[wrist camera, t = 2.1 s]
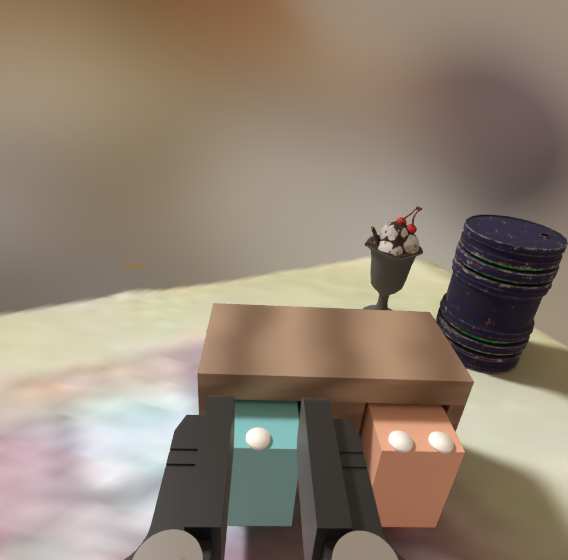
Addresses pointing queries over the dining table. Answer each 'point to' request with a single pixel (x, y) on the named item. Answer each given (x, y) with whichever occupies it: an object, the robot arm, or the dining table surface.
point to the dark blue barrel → (497, 289)
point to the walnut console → (331, 359)
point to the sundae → (392, 258)
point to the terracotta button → (410, 461)
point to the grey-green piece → (264, 463)
